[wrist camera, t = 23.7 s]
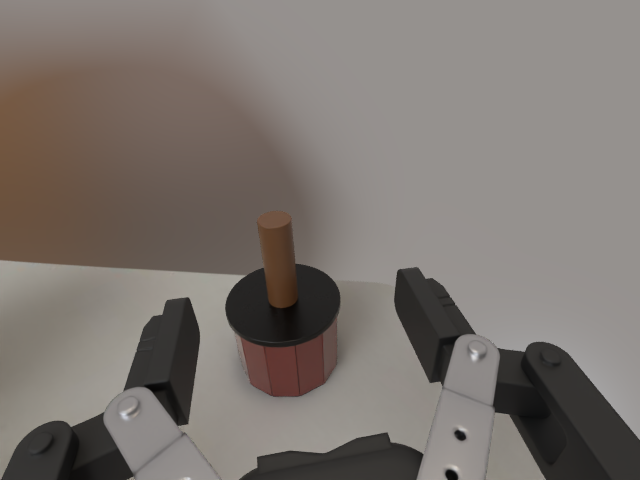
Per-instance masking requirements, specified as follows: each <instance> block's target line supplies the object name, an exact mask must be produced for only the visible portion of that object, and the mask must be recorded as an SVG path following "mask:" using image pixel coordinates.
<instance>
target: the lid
mask: <svg viewBox="0 0 640 480" xmlns="http://www.w3.org/2000/svg"><path fill="white" fill-rule="evenodd" d="M257 224H258V231H259V238H260V244H261V251H262V259H263V265H264V268H261V269H259V270H256V271H254V272H252V273H250V274H248V275H247V276H245V277H244V278H243V279H241V280H240V281H239V282H238V283H237V284H236V285H235V286H234V287H233V288H232V290H231V291H230V293H229V295H228V297H227V300H226V307H225V310H226V316H227V320H228V323H229V325H230V326H231V328H232V329H233V331H234V332H235V333H236V334H237V335H239V336H240V337H241V338H243V339H244V340H246V341H248V342H250V343H253V344H256V345H259V346H264V347H275V348H280V347H290V346H295V345H299V344H303V343H305V342H308V341H310V340H312V339H314V338H316V337H318V336H319V335H321V334H322V333H324V332H325V331H326V330H327V329H328V328H329V327H330V326H331V325H332V324H333V322H334V321H335V319H336V318H337V315H338V313H339V309H340V292H339V289H338V287H337V285H336V283H335V282H334V281H333V280H332V279H331V278H330V277H329V276H328V275H327V274H325V273H324V272H322V271H320V270H318V269H316V268H313V267H310V266H306V265H301V264H295V253H294V242H293V229H292V218H291V216H290V215H289V214H288V213H286V212H283V211H271V212H267V213H264V214H262V215H261V216H260V217H259V218H258V220H257Z"/></svg>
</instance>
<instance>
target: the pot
mask: <svg viewBox="0 0 640 480" xmlns="http://www.w3.org/2000/svg"><path fill="white" fill-rule="evenodd" d="M235 337H236V341H237V345H238V350H239V354H240V359H241V363H242V367H243V369H244V371H245V373H246V375H247V377H248V379H249V382H250V384H252V385H253V386H255V387H256V388H258V389H260V390H262V391H264V392H265V393H267V394H269V395H271V396H301V395H303V394H305V393H307V392H309V391H311V390H313V389H315V388H317V387H319V386H321V385H323V384H324V383H325V382H326V380H327V379H328V377H329V376H330V374H331V372H332V371H333V369H334V368H335V366H336V365H337V318H336V319H335V321H334V322H333V324H332V325H331V326H330V327H329V328H328V329H327V330H326V331H325V332H324V333H322V334H321V335H319V336H318V337H316V338H314V339H312V340H310V341H308V342H305V343H303V344H299V345H295V346H290V347H280V348H275V347H264V346H259V345H256V344H253V343H250V342H248V341H246V340H244V339H243V338H241V337H240V336H239V335H237V334H236V333H235Z"/></svg>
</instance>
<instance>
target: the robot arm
mask: <svg viewBox="0 0 640 480" xmlns="http://www.w3.org/2000/svg"><path fill="white" fill-rule="evenodd" d="M394 303H395V309H396V312H397V315H398V317H399V319H400V321H401V323H402V325H403V327H404V329H405V331H406V334H407V336H408V338H409V340H410V342H411V344H412V346H413V348H414V350H415V352H416V355H417V357H418V359H419V361H420V363H421V365H422V367H423V369H424V371H425V373H426V376H427V378H428V380H429V382H430V383H434V382H439V381H440V382H441V384H442V386H443V387H442V391H441V394H440V398H439V401H438V405H437V408H436V412H435V416H434V419H433V423H432V426H431V430H430V434H429V437H428V441H427V444H426V448H425V451H424V454H422V453H421V452H419V451H417V450H415V449H413V448H411V447H408V446H406V445H402V444H398V443H391V442H390V439H389V435H388V432H387V433H382V434H377V435H371V436H366V437H361V438H356V439H354V440H352V441H350V442H348V443H346V444H344V445H342V446H340V447H338V448H336V449H334V450H332V451H330V452H327V453H312V452H300V451H286V452H281V453H275V454H270V455H265V456H260V457H257V467H258V468H256V469H254V470H252V471H250V472H249V473H247V474H246V475H244V476H243V477H242V478H240V479H239V480H486V473H487V465H488V458H489V451H490V444H491V437H492V429H493V422H494V415H495V412H497V413H504V414H509V415H510V417H511V419H512V420H513V422H514V424H515V426H516V427H517V429H518V431H519V433H520V435H521V436H522V438H523V440H524V442H525V443H526V445H527V447H528V449H529V451H530V452H531V454H532V456H533V458H534V459H535V461H536V463H537V465H538V466H539V468H540V470H541V472H542V474H543V475H544V477H545V479H546V480H640V440H639V439H638V438H637V436H636V435H635V434H634V433H633V432H632V430H631V429H630V428H629V427H628V426H627V424H626V423H625V422H624V421H623V419H622V418H621V417H620V416H619V415H618V413H617V412H616V411H615V410H614V409H613V407H612V406H611V405H610V404H609V403H608V401H607V400H606V399H605V398H604V396H603V395H602V394H601V393H600V392H599V391H598V390H597V388H596V387H595V386H594V384H593V383H592V382H591V381H590V380H589V378H588V377H587V376H586V375H585V374H584V372H583V371H582V370H581V369H580V368H579V366H578V365H577V364H576V363H575V362H574V360H573V359H572V358H571V357H570V355H569V354H568V353H566V352H565V351H564V350H562V349H561V348H559V347H557V346H555V345H553V344H550V343H545V342H534V343H531V344H530V345H528V347H527V348H526V351H525V352H521V351H513V350H505V349H499V348H497V347H496V346H495V345H494V344H493V343H492V342H491V341H490V340H488V339H486V338H485V337H482V336H479V335H476V334H475V332H474V331H473V329H472V328H471V326H470V325H469V323H468V322H467V320H466V319H465V317H464V316H463V315H462V313H461V312H460V310H459V309H458V307H457V306H456V305H455V303H454V301H453V300H452V298H450V295H449V294H448V293H447V291H446V290H445V288H444V287H443V286H442V285H441V284H440V283H438V282H437V281H435V280H434V279H433V278H430V279H425V277H424V276H423V274H422V273H421V271H420V270H419V268H417V267H414V268H407V269H400V270H398V272H397V278H396V287H395V297H394ZM199 344H200V332H199V326H198V323H197V320H196V317H195V314H194V310H193V307H192V304H191V301H190V299H189V298H188V297H187V298H179V299H172V300H167V301H166V303H165V307H164V311H163V314H162V315H159V316H153V317H152V318H151V319H150V321H149V322H148V323H147V324H146V326H145V327H144V328H143V332H142V335H141V338H140V342H139V344H138V347H137V352H136V353H135V357H134V360H133V363H132V366H131V369H130V372H129V375H128V379H127V382H126V385H125V388H124V391H123V392H122V393H120V394H119V395H117V396H116V397H115V398H114V399H113V400H112V401H111V402H110V403H109V405H108V406H107V408H106V410H105V412H103V413H102V414H100V415H98V416H96V417H94V418H91V419H89V420H87V421H85V422H82V423H80V424H78V425H75V426H73V427H70V425H69V424H68V423H66V422H64V421H52V422H48V423H46V424H43V425H41V426H39V427H37V428H36V429H34V430H33V431H31V432H30V433H29V434H28V435H27V436H26V437H24V438H23V440H22V441H21V442H20V443H19V444H18V446H17V447H16V449H15V451H14V453H13V455H12V457H11V459H10V462H9V464H8V466H7V468H6V470H5V473H4V475H3V477H2V479H1V480H127V479H129V478H131V477H133V476H134V478H135V480H222V479H221V478H220V476H219V475H218V474H217V473H216V471H215V470H214V469H213V467H212V466H211V465H210V463H209V462H208V461H207V459H206V458H205V457H204V455H203V454H202V453H201V452H200V450H199V449H198V448H197V446H196V445H195V444H194V442H193V441H192V440H191V438H190V437H189V436H188V435H187V434H186V433H183V432H182V431H181V430H180V429H179V427H178V426H180V425H186V424H188V421H189V414H190V407H191V400H192V393H193V386H194V379H195V372H196V365H197V358H198V351H199Z"/></svg>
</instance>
